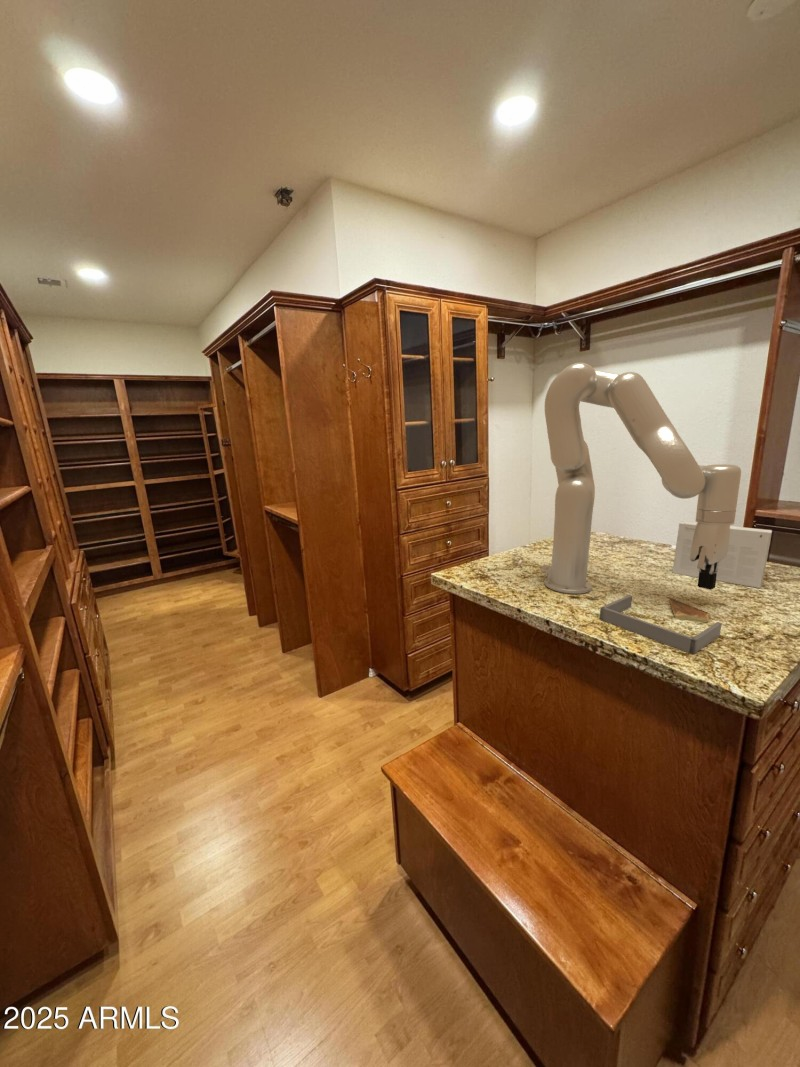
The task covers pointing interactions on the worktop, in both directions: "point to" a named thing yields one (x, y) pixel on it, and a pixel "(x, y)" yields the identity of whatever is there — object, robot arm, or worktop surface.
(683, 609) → the shard
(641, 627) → the grey u-shaped bracket
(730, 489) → the robot arm
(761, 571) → the skincare box
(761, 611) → the worktop surface
